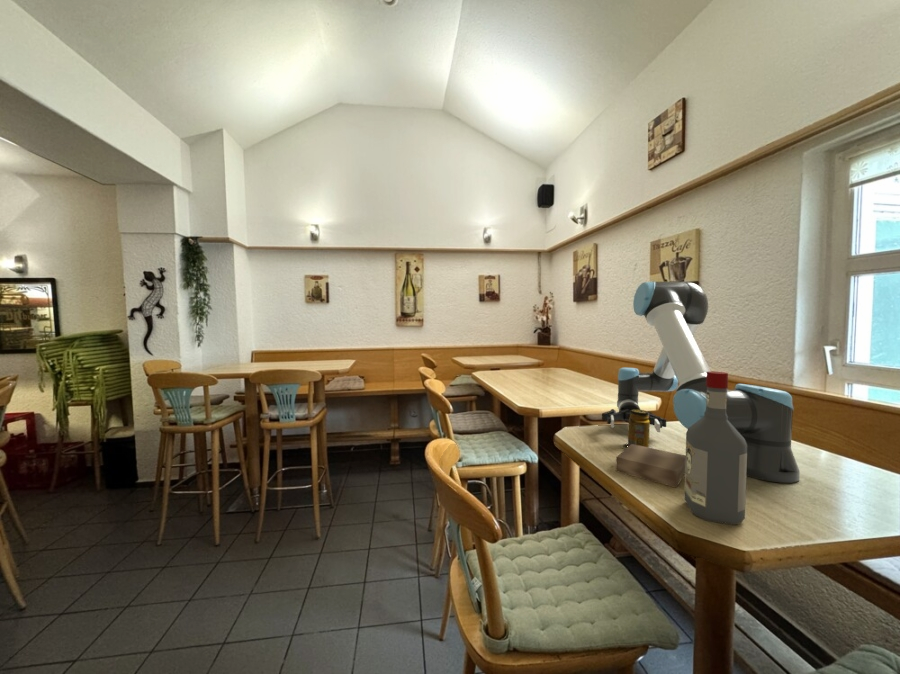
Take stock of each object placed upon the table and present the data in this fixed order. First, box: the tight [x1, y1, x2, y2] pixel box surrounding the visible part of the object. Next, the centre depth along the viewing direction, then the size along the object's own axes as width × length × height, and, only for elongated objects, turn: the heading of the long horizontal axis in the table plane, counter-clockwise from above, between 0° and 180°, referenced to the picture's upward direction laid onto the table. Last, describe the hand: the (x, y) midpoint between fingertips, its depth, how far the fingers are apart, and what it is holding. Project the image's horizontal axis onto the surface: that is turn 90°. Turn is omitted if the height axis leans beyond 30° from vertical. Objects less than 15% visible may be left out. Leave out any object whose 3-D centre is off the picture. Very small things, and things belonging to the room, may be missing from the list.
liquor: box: [684, 370, 747, 526], centre depth 74 cm, size 9×9×30 cm
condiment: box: [620, 409, 654, 450], centre depth 114 cm, size 7×8×12 cm
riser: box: [615, 444, 686, 488], centre depth 96 cm, size 14×14×4 cm
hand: (635, 425), depth 116 cm, fingers open, 13 cm apart
